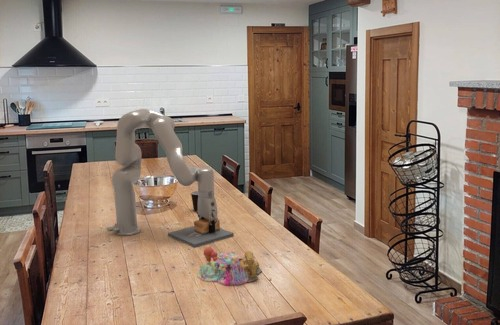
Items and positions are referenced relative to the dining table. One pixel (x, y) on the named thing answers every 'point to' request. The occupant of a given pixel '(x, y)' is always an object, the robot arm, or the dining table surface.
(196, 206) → the coffee mug
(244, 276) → the candy landscape model
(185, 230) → the board
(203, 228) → the block
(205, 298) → the dining table surface
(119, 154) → the robot arm
